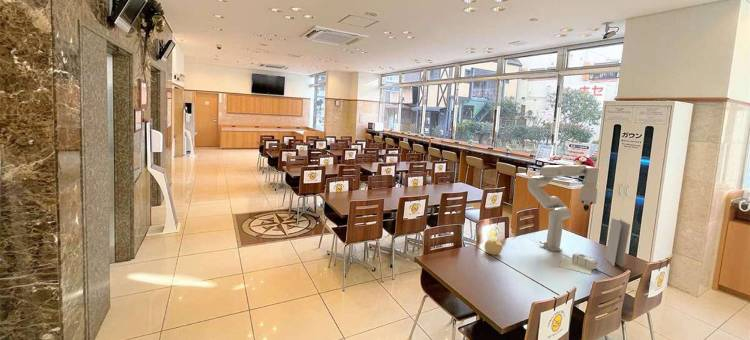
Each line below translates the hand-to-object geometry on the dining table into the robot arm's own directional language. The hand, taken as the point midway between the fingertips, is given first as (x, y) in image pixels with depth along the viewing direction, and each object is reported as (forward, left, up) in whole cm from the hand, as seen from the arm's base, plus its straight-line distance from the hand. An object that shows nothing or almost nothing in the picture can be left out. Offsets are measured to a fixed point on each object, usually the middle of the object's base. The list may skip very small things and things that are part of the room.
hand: (585, 210), depth 250 cm
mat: (0, -17, -35) cm, 39 cm away
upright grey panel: (+21, +8, -35) cm, 42 cm away
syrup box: (+11, -16, -32) cm, 37 cm away
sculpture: (-51, -34, -35) cm, 71 cm away
